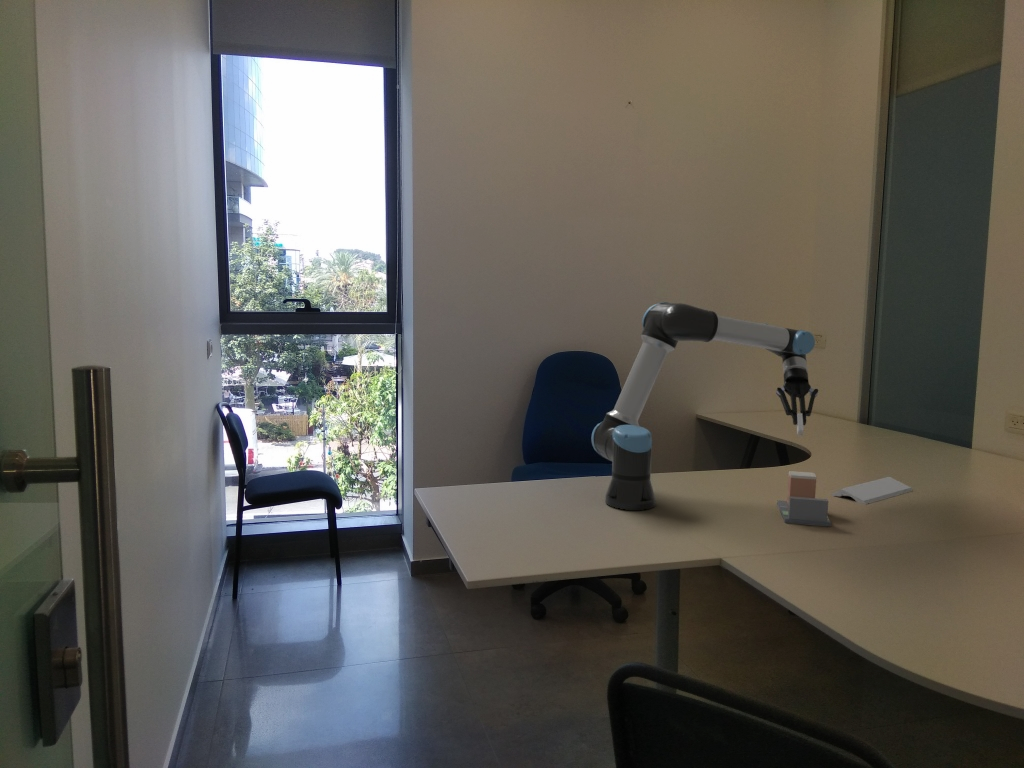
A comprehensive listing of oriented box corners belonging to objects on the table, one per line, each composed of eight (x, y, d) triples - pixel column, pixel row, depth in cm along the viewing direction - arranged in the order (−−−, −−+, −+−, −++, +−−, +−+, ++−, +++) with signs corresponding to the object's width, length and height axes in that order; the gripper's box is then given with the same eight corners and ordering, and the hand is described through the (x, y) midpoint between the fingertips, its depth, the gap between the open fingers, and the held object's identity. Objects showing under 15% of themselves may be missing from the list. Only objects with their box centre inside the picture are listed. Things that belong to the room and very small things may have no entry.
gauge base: (785, 522, 204) (786, 498, 203) (776, 504, 222) (778, 481, 221) (830, 526, 201) (832, 501, 200) (818, 507, 219) (820, 484, 219)
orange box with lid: (789, 507, 214) (791, 475, 213) (786, 502, 219) (788, 471, 218) (814, 509, 213) (816, 476, 211) (811, 504, 217) (813, 472, 216)
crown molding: (865, 505, 223) (866, 494, 223) (829, 496, 233) (829, 486, 233) (912, 492, 240) (913, 481, 239) (876, 484, 250) (877, 474, 249)
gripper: (814, 381, 241) (820, 440, 227) (773, 380, 244) (777, 438, 230) (818, 367, 235) (824, 426, 221) (776, 366, 238) (780, 424, 224)
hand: (800, 432), depth 225 cm, fingers closed
